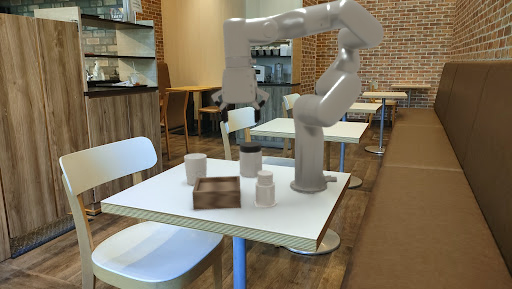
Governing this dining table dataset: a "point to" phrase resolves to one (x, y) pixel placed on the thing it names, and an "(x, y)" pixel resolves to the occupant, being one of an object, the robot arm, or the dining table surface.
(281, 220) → the dining table surface
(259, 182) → the downlight
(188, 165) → the white cup
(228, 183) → the walnut stand
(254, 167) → the jar
